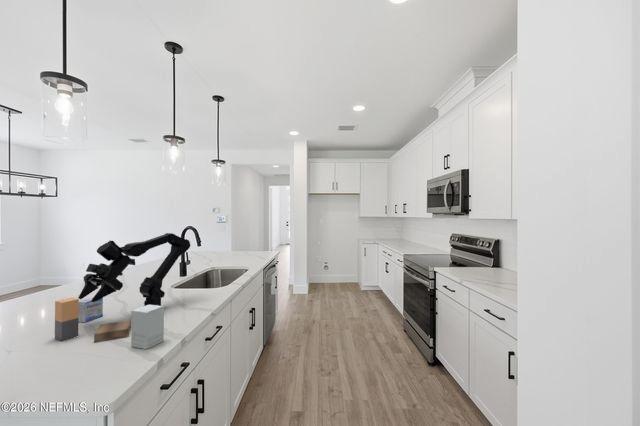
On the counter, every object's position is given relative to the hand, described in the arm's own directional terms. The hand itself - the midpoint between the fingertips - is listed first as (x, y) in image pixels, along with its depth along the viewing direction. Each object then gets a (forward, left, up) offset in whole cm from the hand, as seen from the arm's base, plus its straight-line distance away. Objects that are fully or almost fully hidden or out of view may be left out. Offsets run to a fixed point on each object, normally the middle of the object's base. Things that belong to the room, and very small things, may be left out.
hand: (85, 300), depth 110 cm
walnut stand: (-10, +8, -12) cm, 18 cm away
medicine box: (+2, -17, -13) cm, 21 cm away
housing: (+5, +3, -12) cm, 14 cm away
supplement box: (-22, +23, -13) cm, 35 cm away
